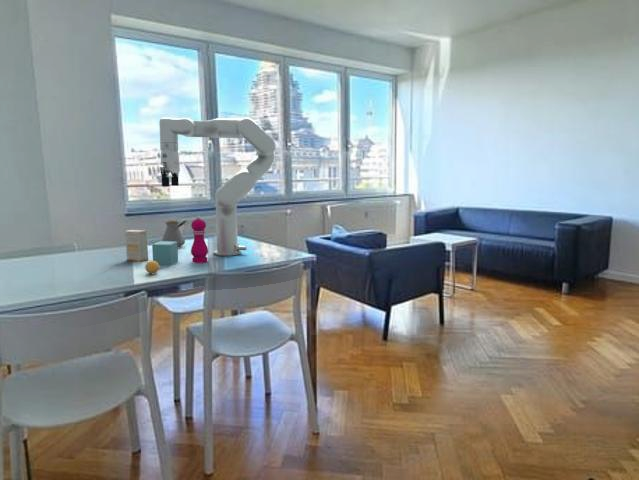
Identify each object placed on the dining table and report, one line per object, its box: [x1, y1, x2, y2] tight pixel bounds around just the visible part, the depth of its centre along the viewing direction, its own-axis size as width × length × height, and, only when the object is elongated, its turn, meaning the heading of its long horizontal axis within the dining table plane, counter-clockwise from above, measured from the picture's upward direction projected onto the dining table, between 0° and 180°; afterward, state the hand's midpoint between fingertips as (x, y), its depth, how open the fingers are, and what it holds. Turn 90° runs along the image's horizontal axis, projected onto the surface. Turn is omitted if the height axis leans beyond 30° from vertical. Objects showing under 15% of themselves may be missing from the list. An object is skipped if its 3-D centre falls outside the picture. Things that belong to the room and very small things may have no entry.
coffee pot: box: [161, 220, 188, 249], centre depth 229 cm, size 21×12×15 cm, turn 41°
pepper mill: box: [190, 215, 209, 264], centre depth 197 cm, size 7×7×20 cm
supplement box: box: [124, 229, 149, 262], centre depth 201 cm, size 8×5×13 cm, turn 65°
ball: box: [145, 260, 160, 275], centre depth 177 cm, size 5×5×5 cm
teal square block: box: [151, 240, 179, 267], centre depth 194 cm, size 8×8×9 cm
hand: (170, 186), depth 207 cm, fingers open, 9 cm apart
